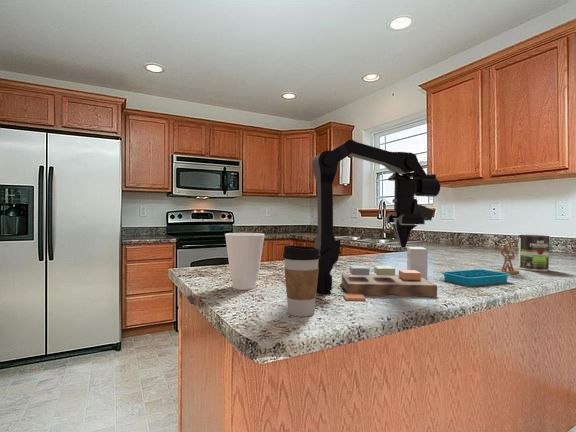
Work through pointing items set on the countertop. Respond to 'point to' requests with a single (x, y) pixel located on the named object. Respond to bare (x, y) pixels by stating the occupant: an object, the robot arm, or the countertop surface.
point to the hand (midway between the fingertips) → (403, 247)
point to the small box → (417, 260)
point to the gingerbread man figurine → (504, 249)
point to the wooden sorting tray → (387, 285)
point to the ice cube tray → (475, 277)
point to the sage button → (384, 270)
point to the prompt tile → (354, 297)
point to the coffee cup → (301, 279)
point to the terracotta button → (409, 274)
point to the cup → (244, 258)
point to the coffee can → (534, 252)
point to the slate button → (359, 270)
